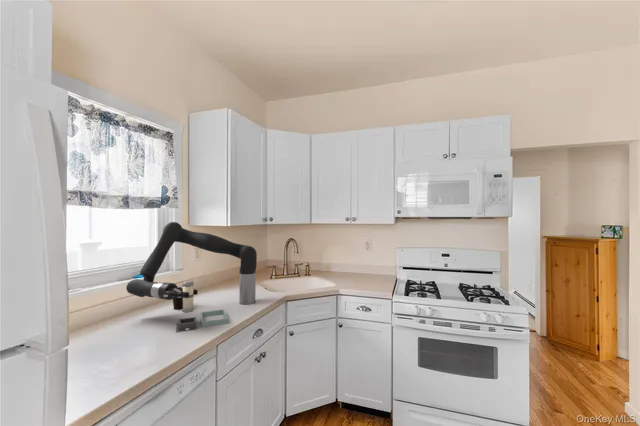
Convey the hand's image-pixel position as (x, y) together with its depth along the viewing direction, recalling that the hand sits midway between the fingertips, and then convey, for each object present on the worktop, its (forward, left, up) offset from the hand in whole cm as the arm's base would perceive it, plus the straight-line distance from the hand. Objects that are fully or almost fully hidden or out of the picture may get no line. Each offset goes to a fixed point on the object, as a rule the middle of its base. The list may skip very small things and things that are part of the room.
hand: (192, 293), depth 132 cm
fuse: (-2, -2, -8) cm, 8 cm away
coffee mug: (-38, -5, -16) cm, 41 cm away
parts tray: (-6, +9, -16) cm, 19 cm away
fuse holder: (-2, -2, -16) cm, 16 cm away
